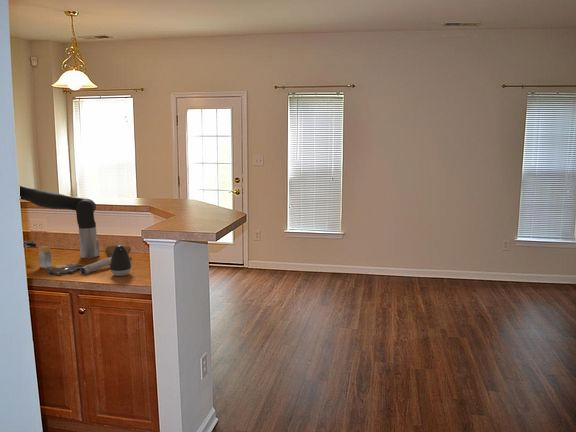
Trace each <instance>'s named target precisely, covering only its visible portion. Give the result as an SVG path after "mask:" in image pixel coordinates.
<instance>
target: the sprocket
mask: <svg viewBox="0 0 576 432" xmlns="http://www.w3.org/2000/svg"><path fill="white" fill-rule="evenodd" d="M81 268H82V264H73V263H68V264H57V265H54V266H51V267H48V268H46V274H47V275H48V276H49V275H55V276H57V277H58V276H60V277H61V276H62V275H74V274H75V273H77V272H80V269H81Z"/></svg>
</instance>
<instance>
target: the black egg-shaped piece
mask: <svg viewBox="0 0 576 432" xmlns="http://www.w3.org/2000/svg"><path fill="white" fill-rule="evenodd" d="M129 254H130V253H129ZM129 254H128V252H127V250H126V248H125V247H124V246H121V245H119V246H116V247H115V249H114V250H113V253H112V257H111V262H110V264H109V270H111V273H112V275H114V276H116V277H125V276H127V275H129V274H130V272H131V269H132V261H131V258H130V255H129Z"/></svg>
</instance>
